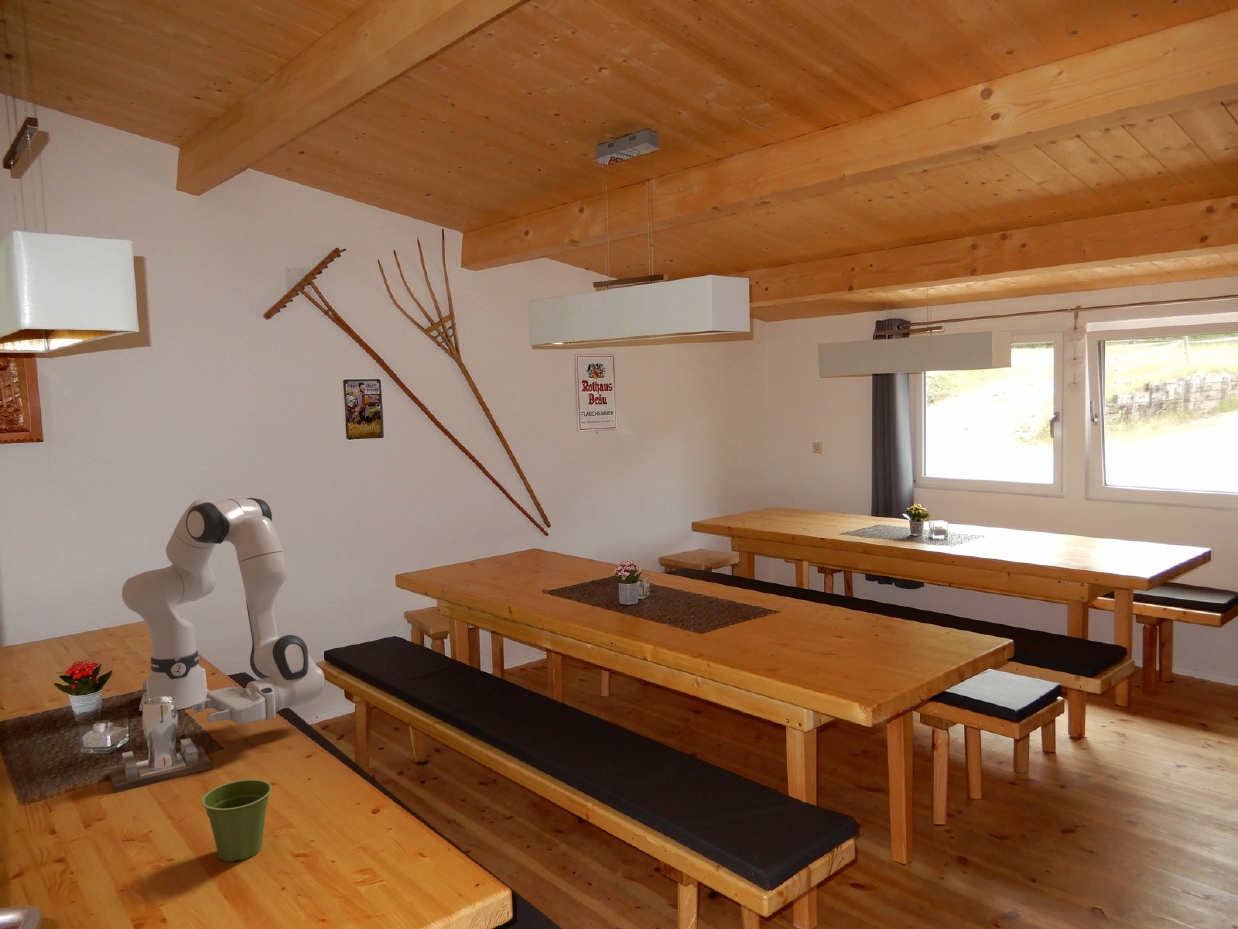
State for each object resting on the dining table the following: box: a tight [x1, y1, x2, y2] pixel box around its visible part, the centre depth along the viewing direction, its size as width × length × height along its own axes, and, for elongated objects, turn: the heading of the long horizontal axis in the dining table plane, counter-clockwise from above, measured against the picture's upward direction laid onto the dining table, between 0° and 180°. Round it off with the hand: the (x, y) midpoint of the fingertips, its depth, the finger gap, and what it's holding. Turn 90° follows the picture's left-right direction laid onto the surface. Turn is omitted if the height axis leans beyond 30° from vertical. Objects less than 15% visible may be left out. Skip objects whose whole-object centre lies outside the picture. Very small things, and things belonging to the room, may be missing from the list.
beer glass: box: [141, 695, 179, 770], centre depth 187 cm, size 7×7×15 cm
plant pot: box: [200, 778, 273, 863], centre depth 152 cm, size 12×12×11 cm
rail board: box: [108, 737, 212, 793], centre depth 188 cm, size 12×19×4 cm, turn 126°
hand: (200, 713), depth 195 cm, fingers open, 8 cm apart
